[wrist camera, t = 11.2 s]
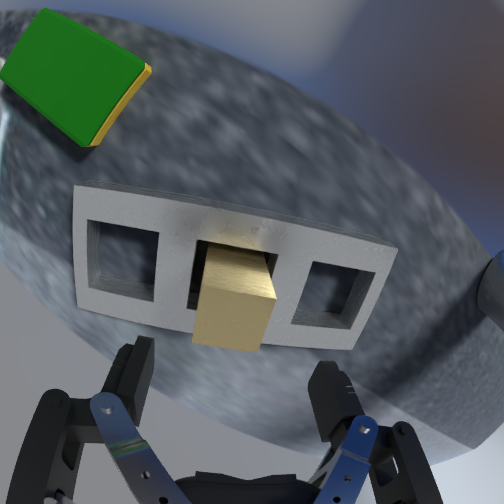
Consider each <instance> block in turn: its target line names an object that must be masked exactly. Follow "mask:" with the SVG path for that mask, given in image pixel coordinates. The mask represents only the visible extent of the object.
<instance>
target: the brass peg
mask: <svg viewBox="0 0 504 504" xmlns="http://www.w3.org/2000/svg"><path fill="white" fill-rule="evenodd" d="M276 299H277V298H276V295H275V291H274V288H273V285H272V281H271V278H270V275H269V271H268V268H267V265H266V261H265V258H264V254H263V251H258V250H253V249H248V248H242V247H237V246H232V245H226V244H221V243H215V242H210V241H209V245H208V250H207V255H206V260H205V265H204V270H203V275H202V281H201V286H200V292H199V298H198V304H197V310H196V317H195V323H194V330H193V337H192V343H196V344H202V345H208V346H214V347H220V348H227V349H233V350H241V351H248V352H256V353H258V350H259V347H260V344H261V342H262V339H263V336H264V333H265V331H266V328H267V325H268V322H269V319H270V317H271V314H272V311H273V308H274V305H275V302H276Z"/></svg>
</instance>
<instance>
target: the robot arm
mask: <svg viewBox="0 0 504 504" xmlns="http://www.w3.org/2000/svg"><path fill="white" fill-rule="evenodd" d="M477 305H478V307H479V309H480V310H481V311H483V312H484V313H485V314H486V315H487V316H488V317H489V318H490V319H491V320H492V321H493V322H495V323H496V325H498V326H499V327H500V328H501V329H502V330H503V331H504V250H502V251H500V252H499V253H498V254H497V255H496V256H495V257H494V258H493V260H492V261H491V263H490V264H489V266H488V268H487V269H486V271H485V273H484V275H483V278H482V280H481V283H480V286H479V289H478V294H477ZM153 369H154V338H149V337H144V336H140V335H139V336H138V337H137V340H136V342H135V345H131V344H127V343H126V344H125V345H124V346H123V347H122V348H120V349H119V351H118V353H117V355H116V358H115V360H114V362H113V365H112V367H111V369H110V371H109V374H108V376H107V378H106V381H105V383H104V386H103V388H102V390H101V392H100V393H98V394H96V395H94V396H93V397H92V398H89V399H76V398H70V397H69V396H68V394H67V393H66V392H64V391H62V390H59V389H51V390H48V391H46V392H45V393H44V394H43V395H42V397H41V399H40V401H39V404H38V406H37V408H36V411H35V413H34V415H33V418H32V421H31V423H30V425H29V428H28V431H27V433H26V436H25V439H24V441H23V444H22V447H21V450H20V453H19V456H18V459H17V462H16V465H15V469H14V472H13V476H12V479H11V483H10V487H9V491H8V496H7V500H6V504H75V503H74V502H73V501H72V500H73V494H74V488H75V483H76V478H77V473H78V469H79V464H80V460H81V455H82V451H83V447H84V443H105V445H106V447H107V449H108V451H109V453H110V455H111V457H112V459H113V461H114V463H115V465H116V466H117V468H118V470H119V472H120V474H121V476H122V477H123V479H124V481H125V482H126V484H127V486H128V487H129V489H130V491H131V492H132V494H133V495H134V497H135V498H136V500H137V501H138V503H139V504H355V502H356V499H357V497H358V495H359V493H360V491H361V488H362V486H363V484H364V481H365V479H366V476H367V474H368V473H369V477H370V480H371V484H372V488H373V492H374V495H375V500H376V503H377V504H443V501H442V499H441V495H440V492H439V490H438V487H437V484H436V482H435V479H434V477H433V474H432V471H431V469H430V466H429V464H428V461H427V459H426V456H425V454H424V451H423V449H422V447H421V444H420V442H419V440H418V437H417V435H416V433H415V430H414V428H413V427H412V426H411V425H410V424H409V423H407V422H404V421H399V422H397V423H395V424H394V425H393V426H392V427H387V426H380V425H378V424H377V422H376V421H375V420H374V419H373V418H371V417H369V416H366V415H365V414H364V411H363V409H362V407H361V404H360V402H359V400H358V397H357V395H356V393H355V390H354V388H353V387H352V383H351V381H350V379H349V377H348V376H347V375H346V374H345V373H344V372H343V371H339V369H338V366H337V364H336V362H335V361H319V363H318V364H317V366H316V368H315V370H314V372H313V374H312V376H311V378H310V380H309V383H308V393H309V397H310V400H311V404H312V407H313V411H314V415H315V418H316V422H317V426H318V429H319V433H320V437H321V440H322V442H331V446H330V447H329V449H328V451H327V452H326V454H325V456H324V458H323V460H322V461H321V463H320V465H319V467H318V468H317V470H316V472H315V473H314V475H313V476H312V477H311V478H310V479H309V481H308V482H305V481H301V480H297V479H296V474H286V475H271V476H267V477H263V478H258V479H253V480H243V479H239V478H236V477H232V476H228V475H224V474H218V473H208V472H199V471H196V474H195V476H191V477H185V478H181V479H178V480H176V481H174V480H173V479H172V478H171V476H170V475H169V474H168V472H167V471H166V470H165V468H164V467H163V465H162V464H161V462H160V461H159V459H158V458H157V456H156V455H155V453H154V452H153V450H152V449H151V447H150V446H149V444H148V443H147V442H146V440H143V439H142V437H141V436H140V434H139V432H138V430H137V429H136V427H135V426H137V427H139V424H140V420H141V415H142V411H143V407H144V404H145V400H146V396H147V392H148V388H149V385H150V381H151V377H152V374H153ZM393 457H394V458H395V461H396V464H397V467H398V473H397V470H396V467H395V464H394V461H393V459H392V458H393Z"/></svg>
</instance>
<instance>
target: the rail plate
mask: <svg viewBox="0 0 504 504" xmlns="http://www.w3.org/2000/svg"><path fill="white" fill-rule="evenodd" d="M101 222H106V223H112V224H117V225H123V226H128V227H134V228H139V229H145V230H150V231H156V232H160V233H159V242H158V251H157V262H156V274H155V285H153V284H148V283H144V282H139V281H134V280H129V279H125V278H120V277H116V276H111V275H107V274H102V273H100V228H101ZM198 239H199V240H204V241H210V242H215V243H221V244H226V245H232V246H237V247H242V248H248V249H253V250H258V251H264V252H269V253H270V255H269V258H268V262H267V268H268V271H269V275H270V278H271V281H272V285H273V288H274V291H275V295H276V298H277V299H276V302H275V305H274V308H273V311H272V314H271V317H270V319H269V322H268V325H267V328H266V331H265V333H264V336H263V339H262V342H261V343H264V344H273V345H283V346H295V347H308V348H323V349H344V350H352V349H353V347H354V345H355V343H356V341H357V339H358V337H359V335H360V334H361V332H362V330H363V328H364V326H365V324H366V322H367V320H368V318H369V316H370V314H371V312H372V309H373V307H374V305H375V303H376V301H377V299H378V297H379V294H380V292H381V290H382V288H383V285H384V283H385V281H386V278H387V276H388V274H389V271H390V269H391V266H392V264H393V261H394V259H395V256H396V254H397V251H398V248H396V247H395V246H394V245H392V244H391V243H390V242H388V241H387V240H385V239H384V238H382V237H378V236H374V235H370V234H367V233H363V232H359V231H355V230H351V229H347V228H343V227H339V226H335V225H331V224H327V223H323V222H318V221H314V220H310V219H306V218H301V217H297V216H292V215H288V214H284V213H279V212H274V211H270V210H265V209H260V208H256V207H251V206H246V205H241V204H236V203H231V202H226V201H221V200H215V199H210V198H205V197H199V196H194V195H188V194H183V193H177V192H171V191H165V190H159V189H153V188H146V187H140V186H133V185H127V184H120V183H113V182H106V181H98V180H87V181H84V182H82V183H79V184H76V185H74V198H73V258H74V274H75V286H76V296H77V304H78V307H79V308H82V309H86V310H89V311H93V312H97V313H100V314H104V315H108V316H112V317H116V318H120V319H124V320H129V321H133V322H137V323H142V324H146V325H151V326H156V327H161V328H166V329H171V330H176V331H181V332H187V333H193V330H194V323H195V317H196V310H197V304H198V298H199V293H195V292H190V290H191V283H192V276H193V269H194V263H195V257H196V251H197V244H198ZM313 261H317V262H323V263H328V264H333V265H339V266H344V267H349V268H354V269H359V271H358V273H357V276H356V278H355V281H354V283H353V286H352V288H351V291H350V293H349V295H348V298H347V300H346V302H345V305H344V307H343V309H342V312H341V313H333V312H324V311H315V310H307V309H299V308H297V305H298V302H299V299H300V297H301V294H302V291H303V288H304V285H305V282H306V280H307V277H308V274H309V271H310V268H311V265H312V262H313Z"/></svg>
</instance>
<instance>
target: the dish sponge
mask: <svg viewBox="0 0 504 504" xmlns="http://www.w3.org/2000/svg"><path fill="white" fill-rule="evenodd" d="M150 74H151V67H150V66H149V65H147V64H146V63H145V62H144V61H143V60H141V59H140V58H138V57H136V56H135V55H133V54H132V53H130V52H128V51H127V50H125V49H123V48H122V47H120V46H118V45H117V44H115V43H113V42H112V41H110V40H108V39H106V38H105V37H103V36H101V35H99V34H97V33H96V32H94V31H92V30H90V29H88V28H86V27H85V26H83V25H81V24H79V23H77V22H75V21H73V20H71V19H69V18H67V17H65V16H63V15H61V14H58V13H56V12H54V11H52V10H50V9H47V8H43V9H42V10H41V11H40V12H39V13H38V14H37V16H36V17H35V18H34V20H33V21H32V22H31V24H30V25H29V26H28V28H27V29H26V31H25V32H24V34H23V35H22V36H21V38H20V39H19V41H18V43H17V44H16V46H15V47H14V49H13V50H12V52H11V54H10V55H9V57H8V59H7V60H6V62H5V64H4V66H3V68H2V69H1V71H0V79H1V80H2V81H3V82H5V83H6V84H7V85H8V86H9V87H10V88H11V89H13V90H14V91H15V92H16V93H17V94H18V95H20V96H21V97H22V98H23V99H24V100H25V101H27V102H28V103H29V104H30V105H31V106H33V107H34V108H35V109H36V110H37V111H38V112H40V113H41V114H42V115H43V116H44V117H46V118H47V119H48V120H49V121H50V122H52V123H53V124H54V125H55V126H56V127H58V128H59V129H60V130H61V131H63V132H64V133H65V134H66V135H67V136H69V137H70V138H71V139H72V140H74V141H75V142H76V143H77V144H78V145H80V146H81V147H90V146H96V145H99V144H100V142H101V141H102V139H103V137H104V136H105V134H106V133H107V131H108V130H109V128H110V127H111V125H112V124H113V123H114V121H115V120H116V118H117V117H118V115H119V114H120V113H121V111H122V110H123V108H124V107H125V106H126V104H127V103H128V102H129V100H130V99H131V98H132V97H133V95H134V94H135V93H136V91H137V90H138V89H139V88H140V86H141V85H142V84H143V83H144V82H145V80H146V79H147V78H148V77H149V76H150Z"/></svg>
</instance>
